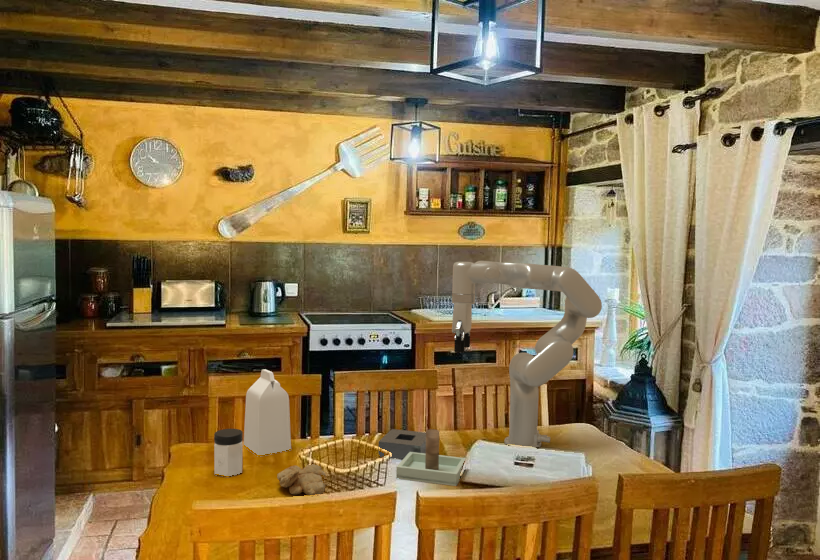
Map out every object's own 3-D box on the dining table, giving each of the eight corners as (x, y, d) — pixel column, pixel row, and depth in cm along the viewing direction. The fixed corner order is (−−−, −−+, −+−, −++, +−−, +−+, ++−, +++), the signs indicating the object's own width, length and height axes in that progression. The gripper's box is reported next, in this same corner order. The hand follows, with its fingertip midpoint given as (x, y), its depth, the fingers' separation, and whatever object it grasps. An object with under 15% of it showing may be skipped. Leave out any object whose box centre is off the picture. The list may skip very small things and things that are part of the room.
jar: (207, 474, 194) (207, 434, 193) (223, 465, 201) (223, 427, 200) (234, 478, 191) (234, 438, 190) (249, 469, 199) (249, 430, 198)
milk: (243, 446, 219) (243, 369, 217) (275, 440, 226) (275, 365, 224) (258, 456, 210) (258, 376, 208) (291, 450, 216) (291, 372, 214)
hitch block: (431, 447, 221) (431, 433, 221) (420, 461, 208) (420, 446, 207) (391, 443, 225) (391, 429, 225) (378, 456, 212) (378, 441, 211)
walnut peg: (439, 468, 199) (440, 430, 198) (436, 473, 195) (437, 433, 194) (427, 467, 200) (427, 428, 199) (423, 471, 196) (424, 432, 195)
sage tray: (465, 469, 202) (466, 458, 201) (456, 486, 188) (456, 474, 188) (409, 462, 207) (409, 451, 206) (396, 478, 193) (396, 466, 193)
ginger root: (282, 472, 193) (288, 447, 192) (332, 489, 191) (339, 463, 190) (261, 495, 178) (268, 468, 176) (316, 513, 176) (323, 486, 174)
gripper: (457, 296, 228) (456, 344, 229) (446, 300, 211) (445, 353, 213) (479, 297, 226) (477, 346, 227) (469, 302, 209) (468, 355, 211)
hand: (462, 349), depth 220 cm, fingers open, 9 cm apart
